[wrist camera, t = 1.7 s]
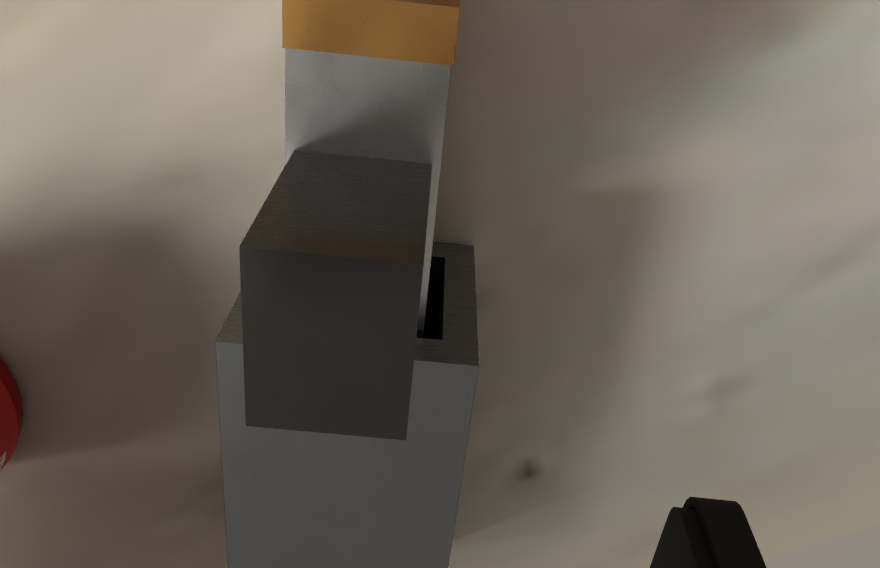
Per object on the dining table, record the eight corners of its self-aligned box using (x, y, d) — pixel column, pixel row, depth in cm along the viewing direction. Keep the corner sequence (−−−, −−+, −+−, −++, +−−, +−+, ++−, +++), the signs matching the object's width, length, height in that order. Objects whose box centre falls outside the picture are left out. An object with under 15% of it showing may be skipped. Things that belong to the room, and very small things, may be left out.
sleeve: (432, 550, 31) (427, 707, 25) (276, 536, 31) (234, 691, 25) (473, 245, 24) (478, 366, 19) (273, 226, 24) (215, 341, 18)
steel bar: (400, 550, 29) (380, 791, 22) (303, 541, 29) (249, 782, 21) (459, -18, 19) (460, 63, 12) (312, -34, 19) (215, 38, 11)
